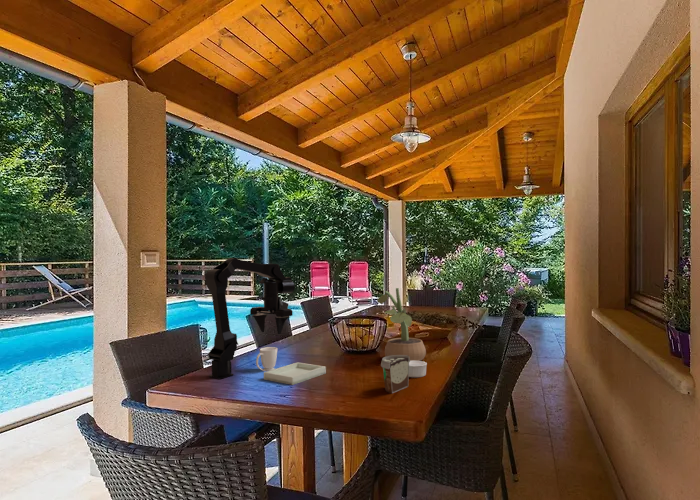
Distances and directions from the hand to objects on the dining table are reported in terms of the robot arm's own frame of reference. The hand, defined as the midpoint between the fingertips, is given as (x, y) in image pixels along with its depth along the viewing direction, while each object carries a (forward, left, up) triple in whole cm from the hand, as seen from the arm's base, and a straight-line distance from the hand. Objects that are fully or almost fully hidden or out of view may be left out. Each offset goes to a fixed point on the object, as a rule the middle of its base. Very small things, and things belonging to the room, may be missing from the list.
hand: (271, 333), depth 193 cm
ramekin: (+15, -57, -13) cm, 61 cm away
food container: (-4, -59, -13) cm, 61 cm away
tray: (-9, -21, -13) cm, 26 cm away
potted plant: (+32, -42, -13) cm, 54 cm away
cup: (-8, -5, -13) cm, 16 cm away
